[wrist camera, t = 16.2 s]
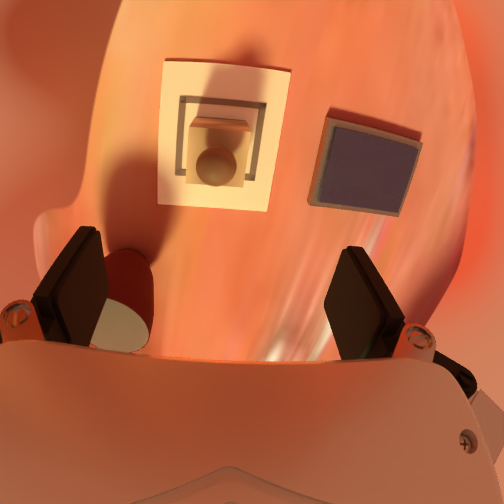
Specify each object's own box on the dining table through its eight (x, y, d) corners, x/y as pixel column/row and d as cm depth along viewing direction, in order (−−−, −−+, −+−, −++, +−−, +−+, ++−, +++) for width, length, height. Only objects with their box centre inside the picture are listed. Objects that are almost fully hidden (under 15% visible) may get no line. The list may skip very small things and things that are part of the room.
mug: (170, 303, 37) (161, 369, 29) (112, 302, 36) (92, 363, 28) (159, 231, 31) (140, 297, 23) (92, 233, 30) (57, 293, 22)
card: (290, 72, 23) (291, 72, 22) (266, 210, 31) (267, 212, 30) (164, 61, 21) (163, 61, 21) (158, 202, 29) (157, 204, 29)
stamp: (246, 120, 25) (255, 143, 18) (240, 166, 27) (246, 207, 20) (195, 115, 24) (182, 137, 17) (191, 162, 27) (179, 202, 20)
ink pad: (417, 140, 27) (425, 144, 26) (394, 212, 32) (400, 219, 31) (325, 116, 25) (330, 119, 24) (307, 201, 30) (310, 207, 29)
